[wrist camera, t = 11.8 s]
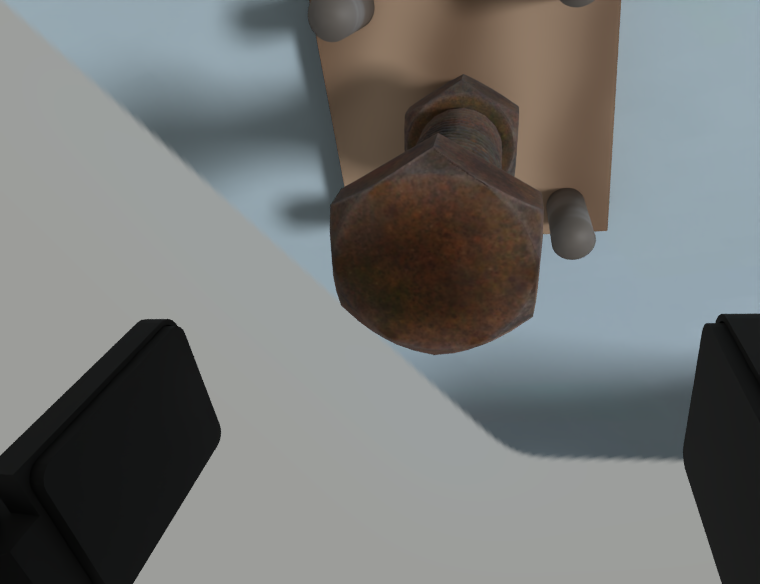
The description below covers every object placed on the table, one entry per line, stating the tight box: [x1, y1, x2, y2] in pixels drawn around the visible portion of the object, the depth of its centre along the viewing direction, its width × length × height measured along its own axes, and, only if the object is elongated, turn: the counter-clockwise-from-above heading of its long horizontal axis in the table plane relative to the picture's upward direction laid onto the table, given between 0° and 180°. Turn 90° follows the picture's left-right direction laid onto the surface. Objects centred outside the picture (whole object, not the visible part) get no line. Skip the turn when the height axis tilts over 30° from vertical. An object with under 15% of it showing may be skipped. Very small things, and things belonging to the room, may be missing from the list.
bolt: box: [330, 74, 544, 355], centre depth 20 cm, size 6×5×15 cm
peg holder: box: [308, 0, 621, 260], centre depth 25 cm, size 13×13×6 cm
